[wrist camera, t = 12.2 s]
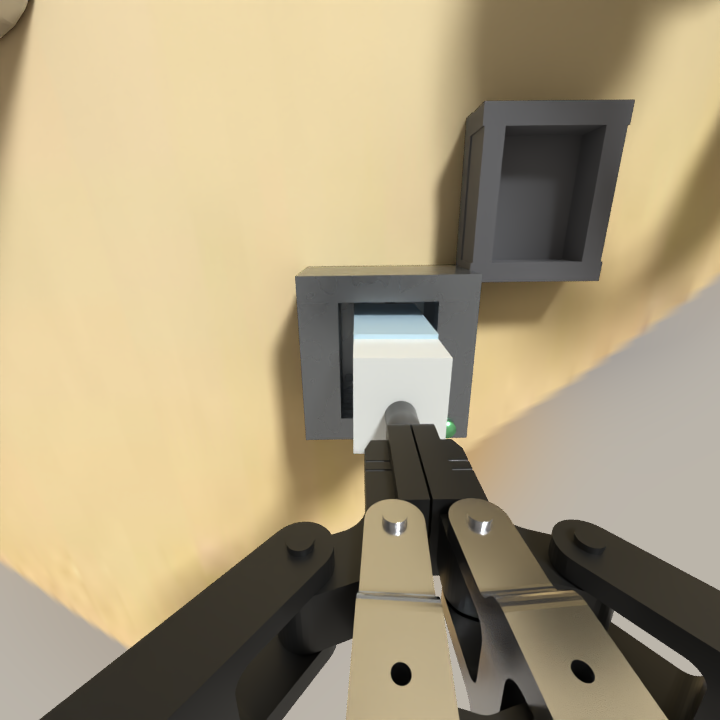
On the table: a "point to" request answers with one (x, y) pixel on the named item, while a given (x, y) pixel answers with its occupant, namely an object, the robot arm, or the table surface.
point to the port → (336, 334)
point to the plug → (397, 372)
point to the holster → (539, 188)
